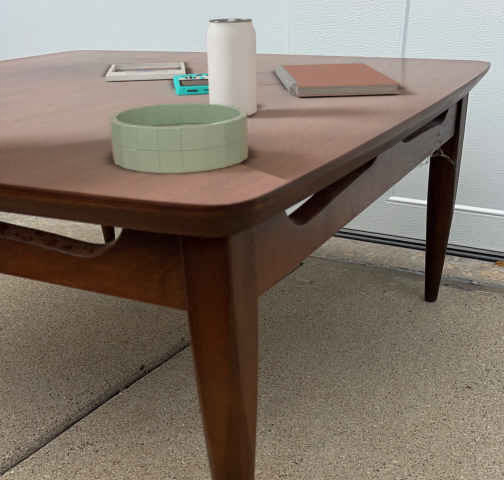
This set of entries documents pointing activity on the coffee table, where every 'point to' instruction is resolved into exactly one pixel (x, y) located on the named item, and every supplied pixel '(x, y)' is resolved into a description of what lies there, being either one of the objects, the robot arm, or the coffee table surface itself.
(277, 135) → the coffee table surface
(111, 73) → the photo frame
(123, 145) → the bowl
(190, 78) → the handheld game console
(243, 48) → the can
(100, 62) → the coffee table surface
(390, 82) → the notebook
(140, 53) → the coffee table surface
